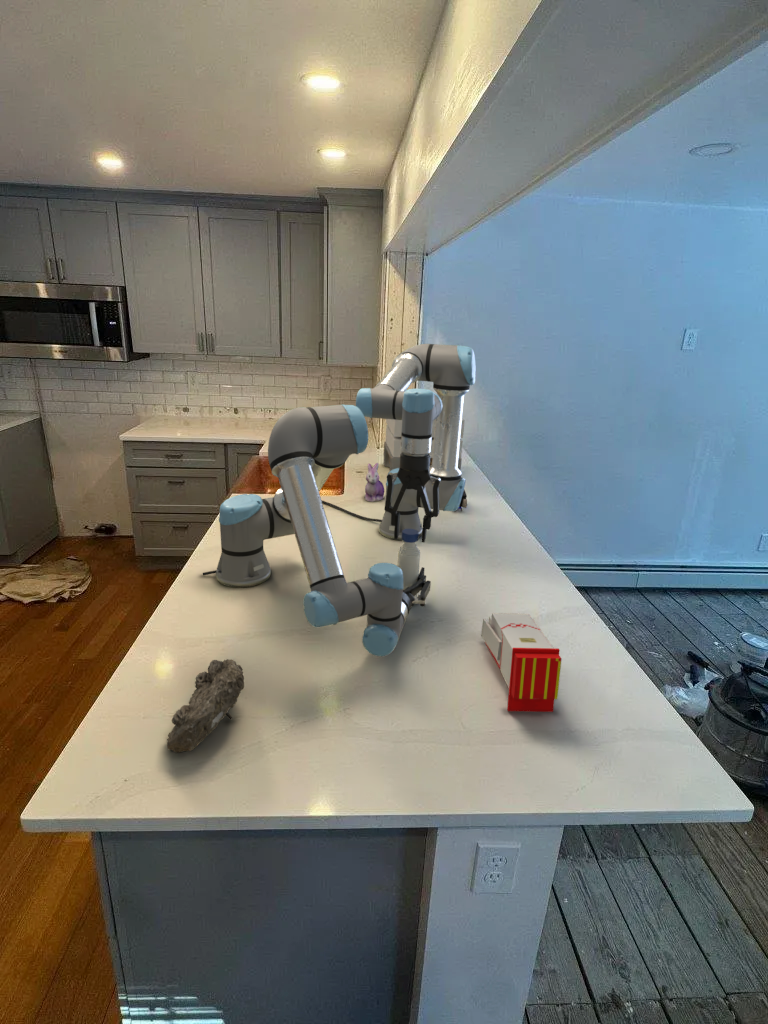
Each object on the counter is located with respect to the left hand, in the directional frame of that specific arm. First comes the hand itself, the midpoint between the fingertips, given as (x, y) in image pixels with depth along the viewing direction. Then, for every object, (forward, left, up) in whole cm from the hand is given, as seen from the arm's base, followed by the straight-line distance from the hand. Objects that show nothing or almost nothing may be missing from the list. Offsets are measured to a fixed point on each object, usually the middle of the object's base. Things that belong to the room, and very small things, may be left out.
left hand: (411, 570), depth 157 cm
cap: (0, -5, +13) cm, 14 cm away
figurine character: (+4, +77, -7) cm, 78 cm away
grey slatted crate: (-19, +122, -7) cm, 123 cm away
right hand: (0, -5, +12) cm, 13 cm away
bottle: (0, -5, -7) cm, 8 cm away
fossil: (-27, -62, -7) cm, 67 cm away
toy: (+29, -30, -7) cm, 42 cm away
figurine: (-30, +76, -7) cm, 82 cm away
